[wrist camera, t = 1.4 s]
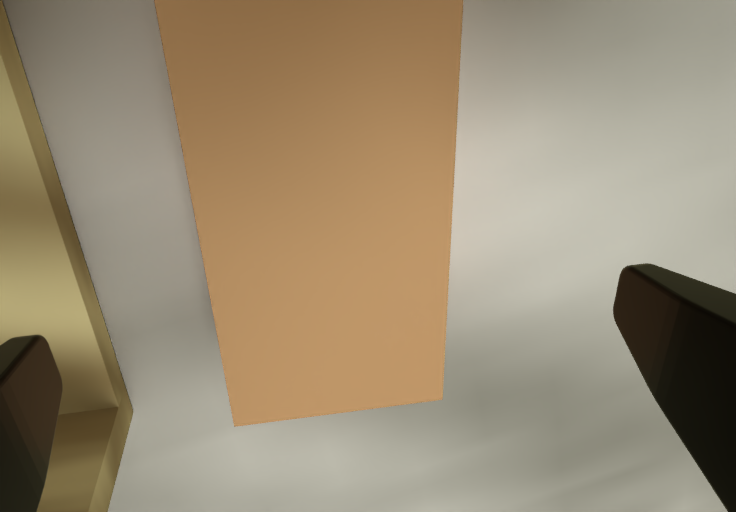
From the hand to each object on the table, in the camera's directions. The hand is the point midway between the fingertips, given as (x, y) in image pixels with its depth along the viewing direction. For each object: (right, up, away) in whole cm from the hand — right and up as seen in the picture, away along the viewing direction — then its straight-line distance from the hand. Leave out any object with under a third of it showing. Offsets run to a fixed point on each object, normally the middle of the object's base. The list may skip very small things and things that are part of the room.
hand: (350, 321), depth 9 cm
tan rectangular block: (-1, +5, +8) cm, 9 cm away
